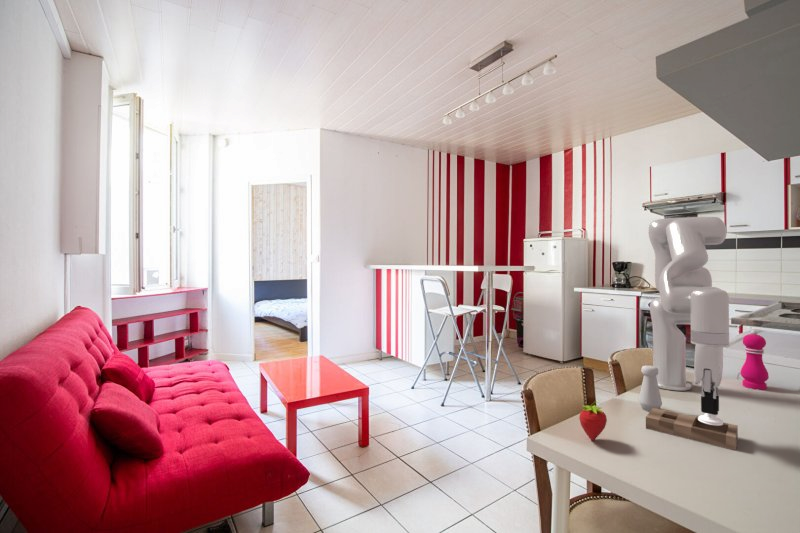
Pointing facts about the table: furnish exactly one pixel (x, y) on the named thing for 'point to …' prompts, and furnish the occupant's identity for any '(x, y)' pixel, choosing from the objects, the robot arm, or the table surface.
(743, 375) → the pepper mill
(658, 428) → the socket plate
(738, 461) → the table surface
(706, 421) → the chess piece
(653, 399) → the salt shaker
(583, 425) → the strawberry
